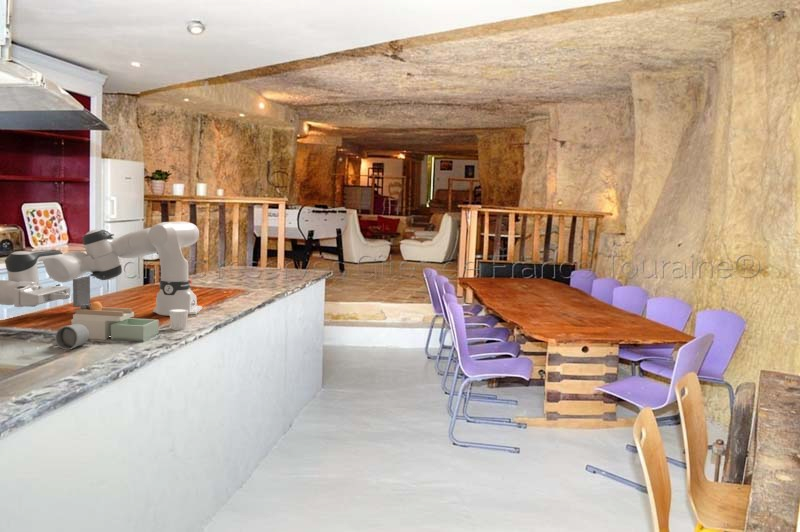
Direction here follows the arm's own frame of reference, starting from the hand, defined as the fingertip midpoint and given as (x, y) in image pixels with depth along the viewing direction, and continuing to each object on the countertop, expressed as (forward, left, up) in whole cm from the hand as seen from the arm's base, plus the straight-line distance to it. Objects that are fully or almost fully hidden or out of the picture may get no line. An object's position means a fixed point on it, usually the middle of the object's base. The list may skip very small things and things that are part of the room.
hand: (67, 296), depth 229 cm
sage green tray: (-1, +24, -13) cm, 28 cm away
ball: (-1, +10, -3) cm, 11 cm away
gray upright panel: (-1, +6, -5) cm, 8 cm away
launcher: (-1, +13, -13) cm, 19 cm away
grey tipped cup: (+17, +11, -14) cm, 24 cm away
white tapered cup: (-19, +32, -14) cm, 40 cm away
